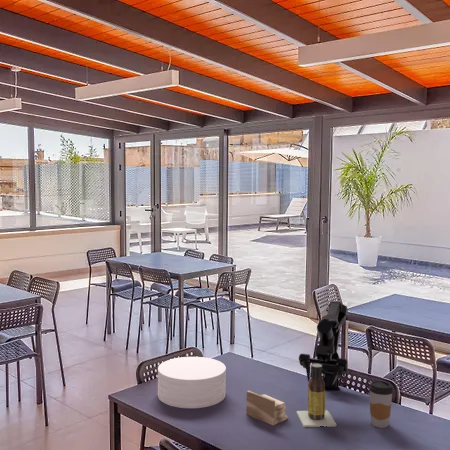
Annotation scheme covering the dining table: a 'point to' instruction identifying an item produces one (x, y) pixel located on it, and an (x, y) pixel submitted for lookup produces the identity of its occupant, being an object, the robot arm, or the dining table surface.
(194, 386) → the plate stack
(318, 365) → the sauce bottle
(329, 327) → the robot arm
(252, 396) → the offcut rack
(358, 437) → the dining table surface
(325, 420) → the cream tile board
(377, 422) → the coffee cup
